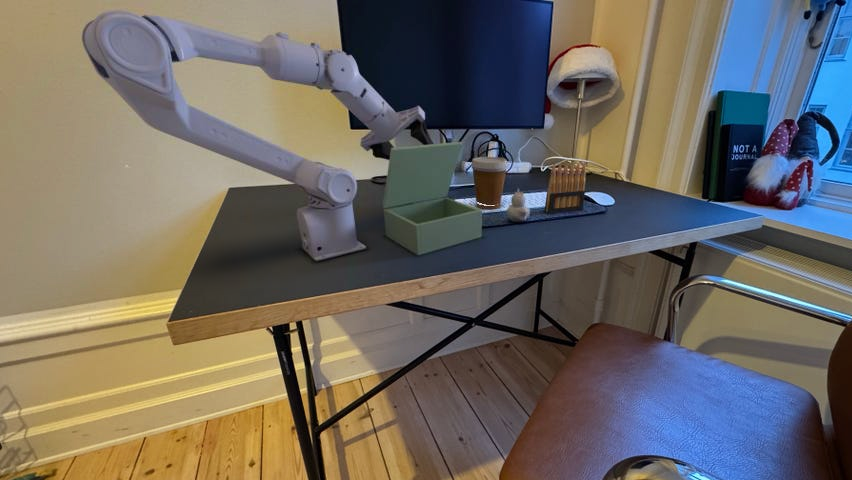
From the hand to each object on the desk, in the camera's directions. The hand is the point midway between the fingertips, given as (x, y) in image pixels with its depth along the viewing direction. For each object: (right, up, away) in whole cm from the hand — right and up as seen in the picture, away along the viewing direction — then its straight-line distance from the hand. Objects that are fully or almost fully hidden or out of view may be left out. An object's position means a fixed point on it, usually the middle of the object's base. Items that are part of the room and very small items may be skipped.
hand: (417, 155), depth 78 cm
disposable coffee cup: (+15, -7, +20) cm, 26 cm away
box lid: (+2, -6, -4) cm, 7 cm away
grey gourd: (+22, -13, +9) cm, 27 cm away
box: (+4, -17, -1) cm, 18 cm away
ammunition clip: (+35, -9, +17) cm, 40 cm away
